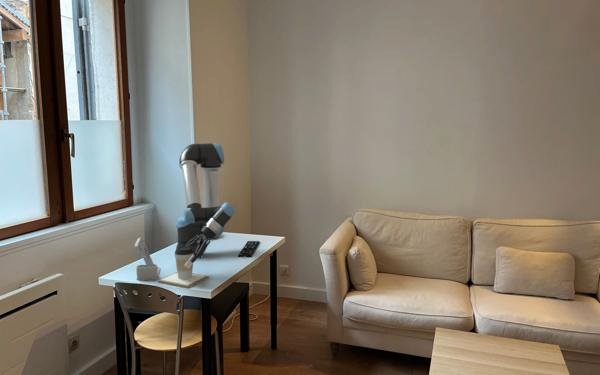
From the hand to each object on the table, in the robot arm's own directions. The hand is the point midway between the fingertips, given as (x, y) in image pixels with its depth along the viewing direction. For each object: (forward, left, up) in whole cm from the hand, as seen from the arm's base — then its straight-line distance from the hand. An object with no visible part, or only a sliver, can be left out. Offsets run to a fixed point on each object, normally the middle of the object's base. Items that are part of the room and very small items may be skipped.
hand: (182, 263), depth 219 cm
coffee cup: (+1, +1, -7) cm, 8 cm away
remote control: (+2, +60, -9) cm, 61 cm away
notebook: (+1, 0, -8) cm, 9 cm away
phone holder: (-21, -1, -9) cm, 23 cm away
